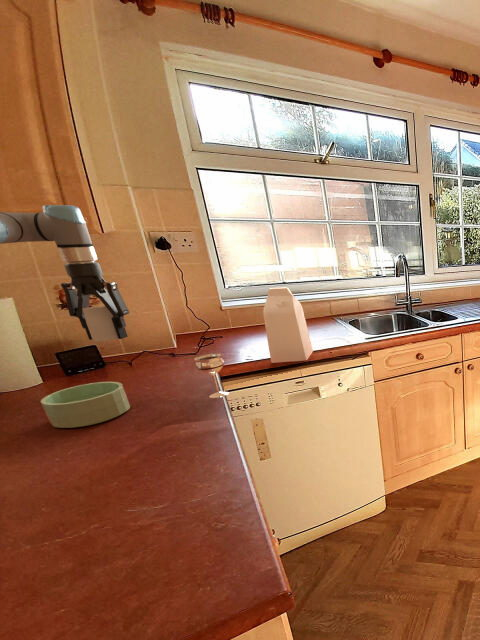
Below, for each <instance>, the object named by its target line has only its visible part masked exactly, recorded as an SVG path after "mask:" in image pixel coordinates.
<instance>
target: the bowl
mask: <svg viewBox="0 0 480 640" xmlns="http://www.w3.org/2000/svg"><path fill="white" fill-rule="evenodd" d="M40 404H41V407H42V409H43V410H44V413H45V415H46V417H47V419H48V421H49V423H50V425H51V426H52V427H53V428H58V429H59V428H60V429H66V428H67V429H73V428H74V429H75V428H83V427H88V426H92V425H93V426H94V425H98V424H101V423H104V422H108V421H110V420H113V419H115V418H117V417H119V416H121V415H122V414H124V413H126V412H127V411H129V409H131V404H130V401H129V398H128V395H127V392H126V390H125V387H124V384H123V383H121V382H119V381H99V382H92V383H86V384H85V383H84V384H79V385H75V386H71V387H67V388H64V389H60V390H58V391H55V392H53V393H50V394H48V395H46V396H44V397H43V398H41V399H40Z"/></svg>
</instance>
